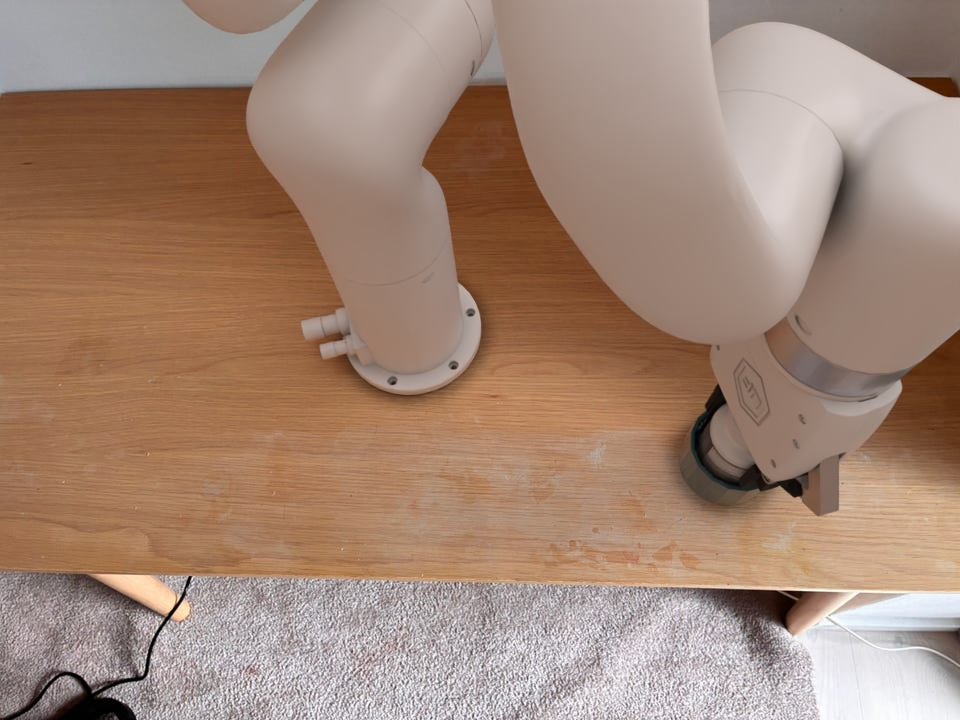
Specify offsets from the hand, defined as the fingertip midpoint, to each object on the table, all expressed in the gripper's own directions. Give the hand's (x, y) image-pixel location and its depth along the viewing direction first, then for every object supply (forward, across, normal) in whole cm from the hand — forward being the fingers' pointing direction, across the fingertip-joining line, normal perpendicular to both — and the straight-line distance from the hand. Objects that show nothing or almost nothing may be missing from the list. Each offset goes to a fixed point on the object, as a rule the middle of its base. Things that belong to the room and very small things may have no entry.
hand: (741, 440), depth 51 cm
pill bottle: (+5, 0, 0) cm, 5 cm away
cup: (+6, 0, 0) cm, 6 cm away
